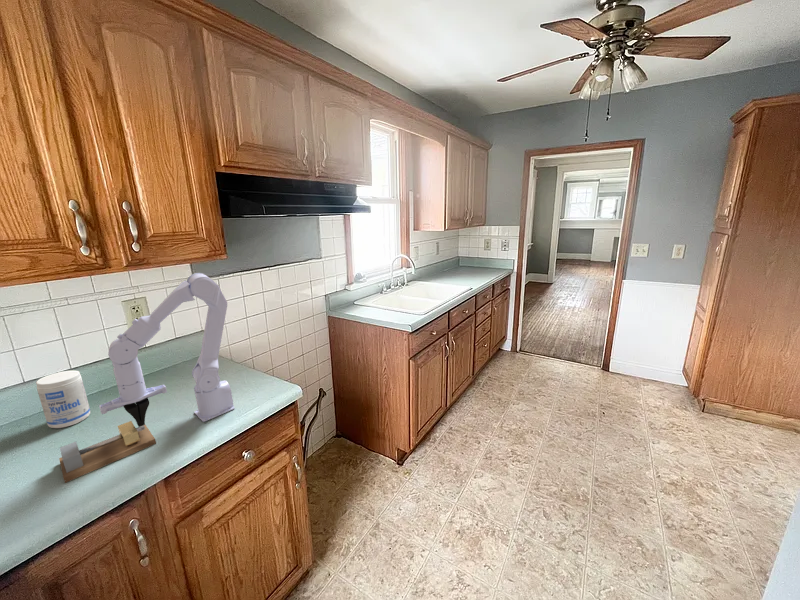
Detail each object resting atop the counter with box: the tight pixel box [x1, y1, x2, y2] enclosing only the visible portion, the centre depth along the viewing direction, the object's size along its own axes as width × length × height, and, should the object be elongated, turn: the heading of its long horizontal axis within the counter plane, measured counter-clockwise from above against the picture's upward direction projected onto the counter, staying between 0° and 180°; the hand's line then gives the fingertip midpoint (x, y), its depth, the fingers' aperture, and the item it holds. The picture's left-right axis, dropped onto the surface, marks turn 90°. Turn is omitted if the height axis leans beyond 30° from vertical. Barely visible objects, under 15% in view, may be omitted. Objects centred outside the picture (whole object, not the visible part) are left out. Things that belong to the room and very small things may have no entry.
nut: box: [117, 420, 140, 446], centre depth 90 cm, size 3×7×3 cm, turn 49°
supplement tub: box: [35, 369, 91, 429], centre depth 100 cm, size 10×10×15 cm
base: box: [58, 424, 157, 484], centre depth 87 cm, size 18×10×5 cm, turn 139°
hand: (141, 424), depth 94 cm, fingers closed
